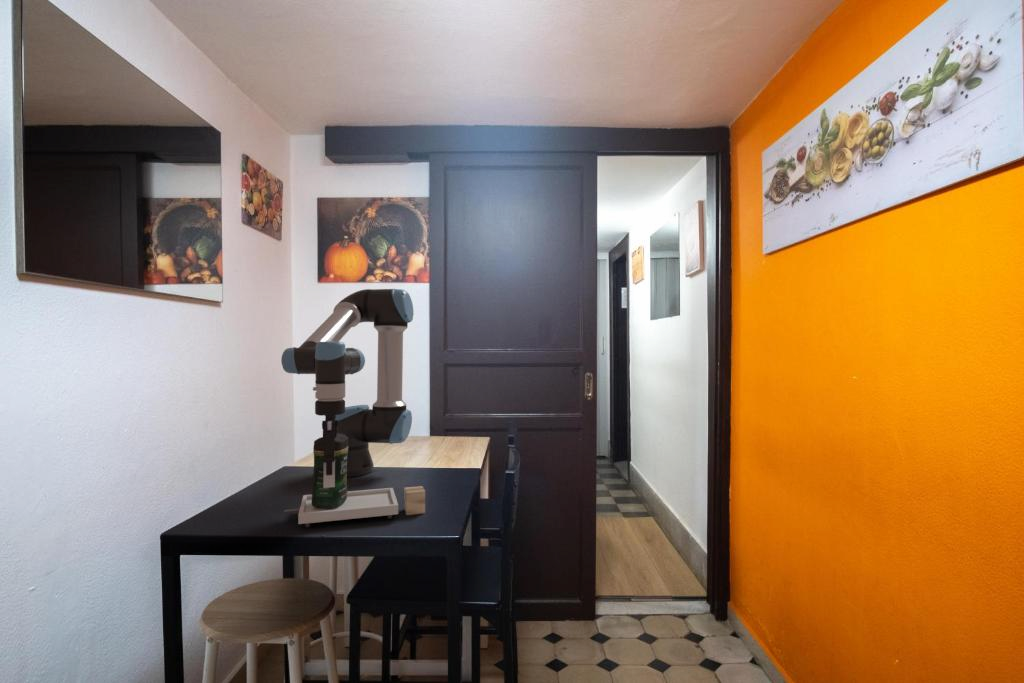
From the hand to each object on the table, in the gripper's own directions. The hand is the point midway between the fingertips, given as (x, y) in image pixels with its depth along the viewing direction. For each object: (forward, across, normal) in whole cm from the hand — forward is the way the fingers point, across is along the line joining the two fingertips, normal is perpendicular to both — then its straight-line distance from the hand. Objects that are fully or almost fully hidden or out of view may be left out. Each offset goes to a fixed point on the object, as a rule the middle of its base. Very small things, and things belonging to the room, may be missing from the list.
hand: (329, 480), depth 134 cm
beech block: (+9, +3, +22) cm, 24 cm away
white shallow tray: (+9, +1, +3) cm, 10 cm away
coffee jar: (+6, 0, 0) cm, 6 cm away
